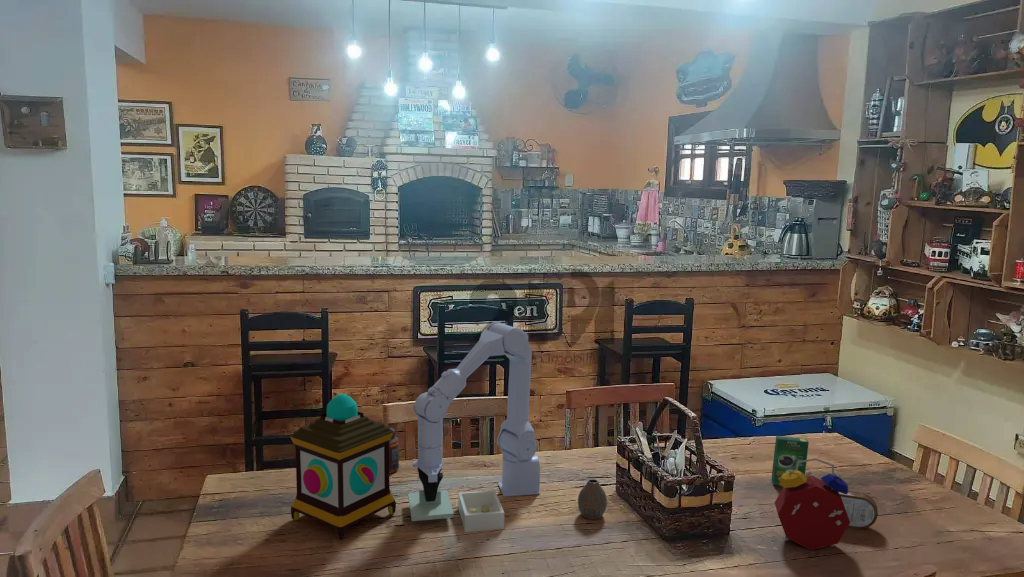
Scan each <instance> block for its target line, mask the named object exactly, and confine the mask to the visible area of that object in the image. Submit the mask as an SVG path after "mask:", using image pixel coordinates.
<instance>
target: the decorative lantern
mask: <svg viewBox="0 0 1024 577" xmlns="http://www.w3.org/2000/svg"><path fill="white" fill-rule="evenodd" d="M390 428H391V427H389V426H387V425H385V424H384V423H383V422H379V421H376V420H373V419H370V418H369V417H368V416H366V415H364V412H361V411H358V405H357V402H356V401H355V400H354V399H353V398H352V397H351V396H350V395H348V394H345V393H339V394H337V395H335V396H333V398H332V399H331V400H329V401H328V403H327V404H326V412H325V413H323V414H320V417H319V418H316V419H315V420H314V421H312V422H311V423H308V424H306V425H302V426H299V428H298V429H297V430H295V431H293V433H292V434H290V436H289V438H290V439H291V441H292V443H293V445H294V448H295V449H294V450H295V473H296V474H295V475H296V476H295V477H296V496H295V498H294V500H293V502H292V504H291V506H290V516H291V519H292V520H293V521H297V520H298V519H299V518H300V514H301V515H304V516H306V517H308V518H311V519H313V520H316V521H317V522H320V523H322V524H325V525H327V526H328V527H332V529H335V531H336V534H337V539H338V541H340V542H342V541H344V539H345V534H346V531H347V528H349V527H351V526H353V525H355V524H358V523H359V522H361V521H363V520H365V519H367V518H368V517H370V516H372V515H375V514H376V513H379V512H381V511H383V510H385V509H386V508H387V510H388V514H390V515H391V516H392V515H394V514H395V513H396V508H397V502H396V499H395V498H394V495H393V493H392V492H391V489H390V488H391V487H390V473H389V442H390V439H391V437H392V435H393V433H394V432H393V430H391V429H390Z"/></svg>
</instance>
